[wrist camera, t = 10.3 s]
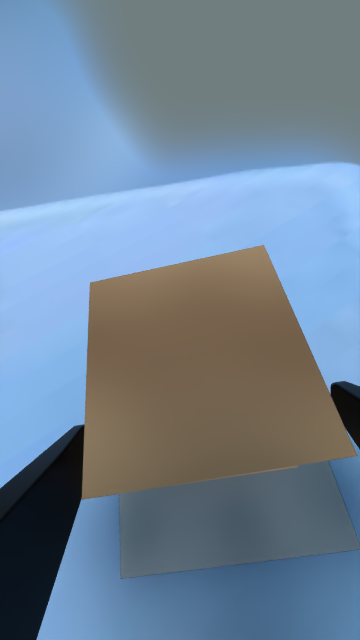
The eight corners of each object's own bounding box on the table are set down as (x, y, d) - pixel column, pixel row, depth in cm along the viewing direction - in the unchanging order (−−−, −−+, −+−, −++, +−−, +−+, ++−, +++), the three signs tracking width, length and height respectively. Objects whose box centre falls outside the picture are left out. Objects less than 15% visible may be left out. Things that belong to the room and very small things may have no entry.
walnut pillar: (248, 432, 15) (357, 455, 4) (179, 444, 16) (81, 499, 4) (230, 363, 18) (263, 245, 6) (170, 374, 18) (90, 282, 6)
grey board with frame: (351, 540, 13) (387, 570, 10) (126, 569, 14) (105, 603, 11) (260, 292, 21) (266, 273, 18) (120, 319, 22) (107, 305, 19)
